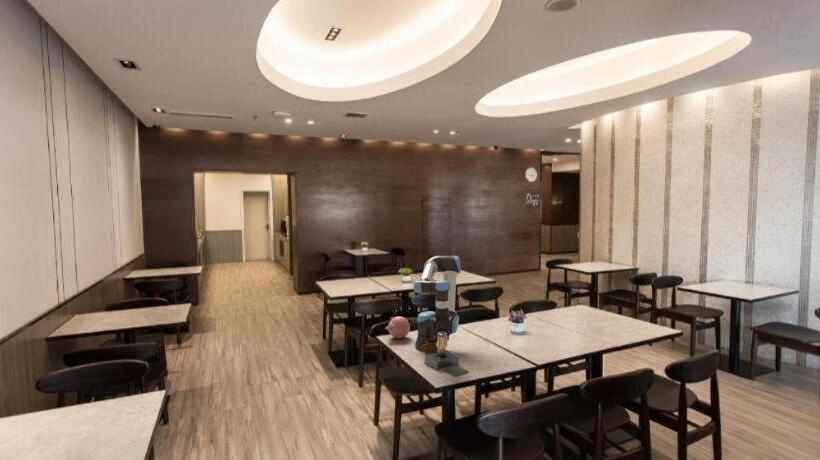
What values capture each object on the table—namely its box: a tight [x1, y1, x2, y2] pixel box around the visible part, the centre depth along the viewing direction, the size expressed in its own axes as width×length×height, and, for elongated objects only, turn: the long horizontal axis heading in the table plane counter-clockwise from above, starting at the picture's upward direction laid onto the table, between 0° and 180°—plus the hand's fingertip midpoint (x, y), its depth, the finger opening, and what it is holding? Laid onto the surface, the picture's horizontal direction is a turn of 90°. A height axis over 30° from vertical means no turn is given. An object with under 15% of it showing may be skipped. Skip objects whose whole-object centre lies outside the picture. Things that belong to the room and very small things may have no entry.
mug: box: [421, 340, 438, 356], centre depth 248 cm, size 12×8×9 cm, turn 133°
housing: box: [424, 349, 460, 371], centre depth 237 cm, size 12×16×5 cm
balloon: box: [384, 315, 411, 340], centre depth 283 cm, size 15×20×15 cm
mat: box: [443, 364, 470, 377], centre depth 226 cm, size 10×10×1 cm
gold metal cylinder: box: [437, 333, 447, 358], centre depth 236 cm, size 4×4×14 cm
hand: (441, 346), depth 236 cm, fingers closed on gold metal cylinder, 4 cm apart
